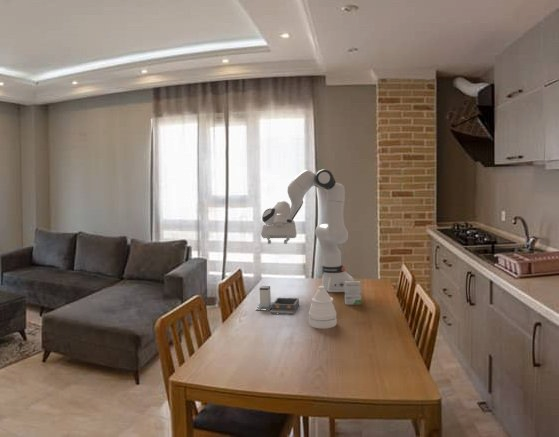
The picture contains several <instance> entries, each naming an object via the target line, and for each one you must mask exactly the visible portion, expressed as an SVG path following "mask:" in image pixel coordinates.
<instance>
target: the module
mask: <svg viewBox="0 0 559 437" xmlns="http://www.w3.org/2000/svg"><path fill="white" fill-rule="evenodd" d="M271 293H272V292H271V285H261V286H259V304H260V307H269V306H270V305H271V302H272V296H271Z"/></svg>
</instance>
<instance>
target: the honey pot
mask: <svg viewBox="0 0 559 437" xmlns="http://www.w3.org/2000/svg"><path fill="white" fill-rule="evenodd" d="M333 302H334V298H333V297H332V296H330V294H329V293H328V291H326V290H325V289H324V286H321V285H319V286H318V289H317V291H316V292H315V294H314V296H313V297H312V298H311V304H310V308H309V311H308V325H309V326H310V327H312V328H316V329H330V328H334V327H335V326H337V320H338V319H337V311H336V308H335V305H334V304H333Z"/></svg>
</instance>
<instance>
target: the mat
mask: <svg viewBox="0 0 559 437" xmlns="http://www.w3.org/2000/svg"><path fill="white" fill-rule="evenodd" d="M273 302H274V301H273ZM273 302H272V301H271V305H270V306H269V307H260V303H259V304H258V305H257V306H259V307H257V306H256V307H257V308H258V309H266V310H270V309H271V308H272V304H273ZM271 310H272V309H271ZM271 310H270V311H271Z"/></svg>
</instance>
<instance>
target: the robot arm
mask: <svg viewBox="0 0 559 437" xmlns="http://www.w3.org/2000/svg"><path fill="white" fill-rule="evenodd" d="M312 187H316V188H318V189H321V190H325V191H326V198H325V199H326V200H325V207H324V215H325V217H326V219H327V223H321V224H319V225H317V226H316V227H315V230H314V234H315V237H316V238H317V239H318V242H319V245H320V248H321V253H322V256H321V257H322V265H321V275H322V280H321V285H320V286H324V289H325V290H326V291H327V293H328V292H329V293H345V281H355V279H354V277H353V276H351V275H350V274H349V273H348V272H346V267H345V265H342V251H341V250H340V249H339V247H338V244H339V245H340V244H344V243H346V242H347V241H348V238H349V232H348V229H347V228H346V225H345V220H344V209H345V201H346V189H345V185H343V184H342V183H338V182H336V180H335V177H334V175H333V172H331V171H330V170H329V169H326V168H323V169H321V170H320V169H319V170H318V171H317V172H315V173H314V172H313V171H311V170H309V169H305V170H303V171H301V172H299V174H297V175H296V176H295V177H294V178H293V180H292V181H291V182H289V183H288V186H287V194H288V198H289V199H290V202H291V204H290V203H288V201H285V200H279V201H278V202H277V203H276V204H275V205H274V206H273V207H270V208H267V209H266V210H264V212H263V214H262V217H261V218H262V220H261V221H262V222H263V223H264V225H263V226H262V229H261V231H260V232H261V234H260V235H261V237H262V238H263V239H266V240H267V244H268V245H271V244H272V241H271V239H284V240H283V244H284V245H287V244H288V242H289V241H290V240H291V239H295V238H297V235H298V234H297V229H296V228H297V226H296V222H295V220H294V218H296V215H297V214H298V213H299V211H300V209H301V208H302V206H303V204H304V201H303V200H304V197H305V195H306V194H307V193H308V191H309V190H310V189H311V188H312ZM290 205H291V206H290Z"/></svg>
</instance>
